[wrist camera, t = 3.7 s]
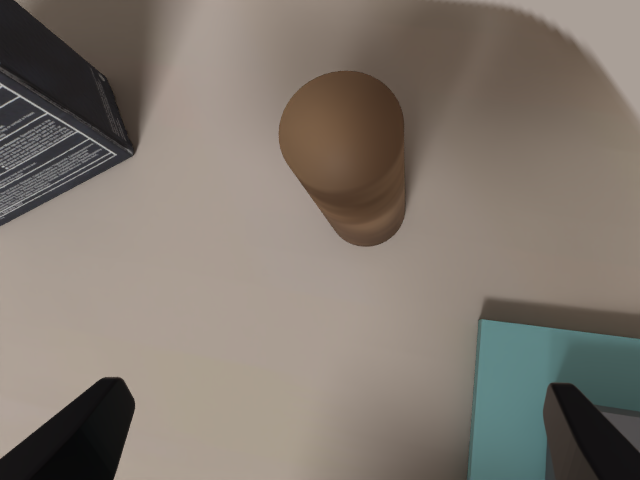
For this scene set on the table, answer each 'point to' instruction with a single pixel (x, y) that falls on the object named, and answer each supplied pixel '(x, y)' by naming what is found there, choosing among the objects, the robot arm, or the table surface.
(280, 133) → the peg
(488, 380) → the docking socket
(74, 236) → the table surface
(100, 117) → the small box
